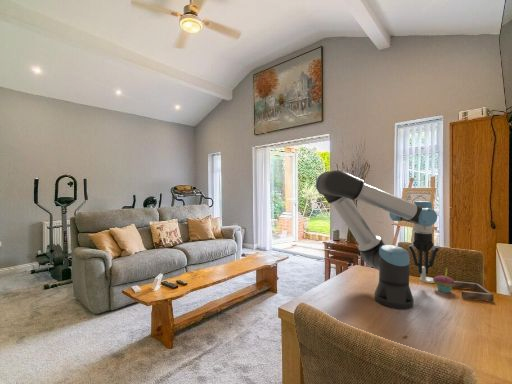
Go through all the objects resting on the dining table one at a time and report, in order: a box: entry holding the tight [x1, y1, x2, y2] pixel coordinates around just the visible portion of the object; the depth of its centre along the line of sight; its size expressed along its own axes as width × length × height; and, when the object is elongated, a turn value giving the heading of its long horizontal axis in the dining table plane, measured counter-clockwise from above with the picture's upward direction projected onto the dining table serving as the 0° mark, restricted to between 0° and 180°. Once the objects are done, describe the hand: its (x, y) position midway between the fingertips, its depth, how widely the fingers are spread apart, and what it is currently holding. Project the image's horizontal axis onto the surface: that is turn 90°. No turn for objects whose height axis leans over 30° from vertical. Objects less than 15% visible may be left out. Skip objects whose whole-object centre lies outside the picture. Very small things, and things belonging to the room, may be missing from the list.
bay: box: [453, 280, 495, 302], centre depth 122 cm, size 11×14×3 cm
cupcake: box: [432, 268, 455, 294], centre depth 125 cm, size 9×8×12 cm
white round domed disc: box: [419, 276, 436, 284], centre depth 139 cm, size 8×8×1 cm
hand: (423, 280), depth 128 cm, fingers closed
